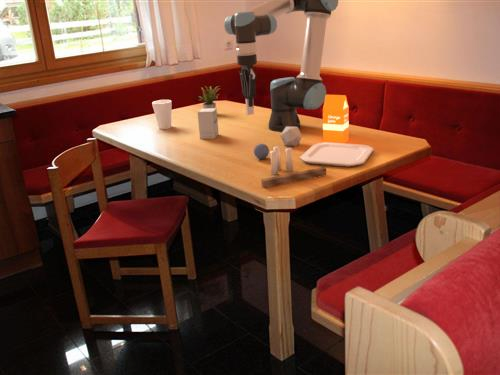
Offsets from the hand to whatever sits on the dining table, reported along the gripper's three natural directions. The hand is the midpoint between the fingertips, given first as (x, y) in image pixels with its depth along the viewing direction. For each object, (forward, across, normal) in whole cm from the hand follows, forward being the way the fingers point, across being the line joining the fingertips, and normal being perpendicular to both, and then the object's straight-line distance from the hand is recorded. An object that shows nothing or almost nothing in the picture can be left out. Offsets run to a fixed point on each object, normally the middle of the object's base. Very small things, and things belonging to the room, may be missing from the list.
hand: (250, 114), depth 210 cm
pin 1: (+16, +28, -3) cm, 33 cm away
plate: (+17, +23, +26) cm, 39 cm away
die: (+16, -1, +18) cm, 24 cm away
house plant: (+16, -75, +7) cm, 77 cm away
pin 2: (+16, +28, +3) cm, 33 cm away
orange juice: (+16, +5, +36) cm, 40 cm away
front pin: (+16, +24, 0) cm, 29 cm away
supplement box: (+16, -34, -8) cm, 38 cm away
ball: (+13, +9, 0) cm, 16 cm away
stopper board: (+16, +38, 0) cm, 42 cm away
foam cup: (+16, -64, -22) cm, 69 cm away
